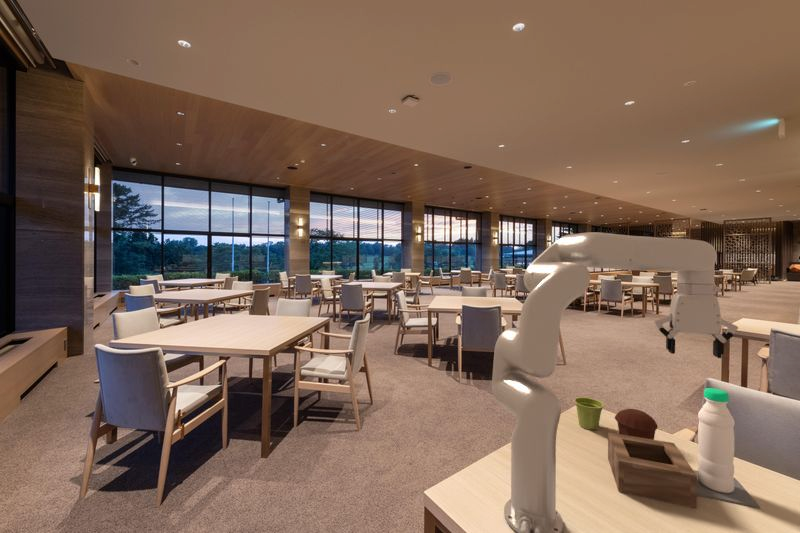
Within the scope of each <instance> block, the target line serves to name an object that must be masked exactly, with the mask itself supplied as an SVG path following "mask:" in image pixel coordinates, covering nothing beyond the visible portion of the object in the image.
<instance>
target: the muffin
mask: <svg viewBox="0 0 800 533" xmlns="http://www.w3.org/2000/svg"><path fill="white" fill-rule="evenodd" d="M614 420H615V421H616V422H617V428H618V434H622V435H628V436H634V437H640V438H646V439H652V440H655V435H656V430H657V429H658V424H657V422H656V421H655V419H654V418H653V417H652V416H650V415H649V414H648V413H646V412H645V411H643V410H639V409H634V408H625V409H621V410H619V411H618V412H617V413H616V414H615V417H614Z"/></svg>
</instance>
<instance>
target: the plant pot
mask: <svg viewBox="0 0 800 533" xmlns="http://www.w3.org/2000/svg"><path fill="white" fill-rule="evenodd" d="M573 402H574V403H575V407H576V411H577V412H576V413H577V419H578V425H579V426H580V427H582V428H583V429H585V430H593V431H594V430H595V431H596V430H598V429H599V425H600V420H601V414H602V410H603V408H604V407H605V406H604V405H605V404H604V403H603V402H601V400H597V399H594V398H591V397H585V396H584V397H583V396H582V397H579V396H578V397H575V398H574V399H573Z"/></svg>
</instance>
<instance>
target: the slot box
mask: <svg viewBox="0 0 800 533" xmlns="http://www.w3.org/2000/svg"><path fill="white" fill-rule="evenodd" d="M607 444H608V445H607V459H608V460H607V461H608V463H609V466H610V469H611V472H612V476H613V479H614V482H615V485H616V488H617V491H618V492H619V493H622V494H623V493H624V494H629V495H631V496H632V495H633V496H637V497H642V498H647V499H651V500H655V501H660V502H664V503H668V504H669V503H670V504H673V505H678V506H682V507H687V508H691V509H696V510H697V509H698V507H697V506H698V495H697V475H696V473H695V472H694V471H693V470H694V469H693V468H692V466H691V465H690V464H689V462H688V461H687V459H686V458H685V457H684V455H683V454H682V452H681V451H680V449H679V448H678V447H677V445H676V444H675V443H674V442H671V441H670V442H669V441H665V440H664V441H663V440H658V439H654V440H652V439H646V438H640V437H634V436H628V435H622V434H619V433H615V432H610V431H608V432H607Z"/></svg>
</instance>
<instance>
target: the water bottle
mask: <svg viewBox="0 0 800 533" xmlns="http://www.w3.org/2000/svg"><path fill="white" fill-rule="evenodd" d="M729 396H730V395H729V393H728V392H726V391H724V390H722V389H719V388H713V387H709V388H708V387H707V388H705V389H703V397H704V399H705V403H704V404H703V405H702V406H701V408H700V410H699V411H698V413H697V417H698V427H697V429H698V430H697V446H698V455H697V464H698V468H697V471H698V480H699V481H700V482H701V483H702V484H703V485H704V486H706V487H707V488H709V489H712V490H714V491H717V492H722V493H730V492H733V491H734V478H735V477H734V475H735V465H734V460H735V459H734V458H735V430H734V427H735V423H736V422H735V419H734V417H733V416H732V414H731V412H730V410H729V409H728V407H727V404H728V403H729V400H730V399H729V398H730V397H729Z"/></svg>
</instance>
